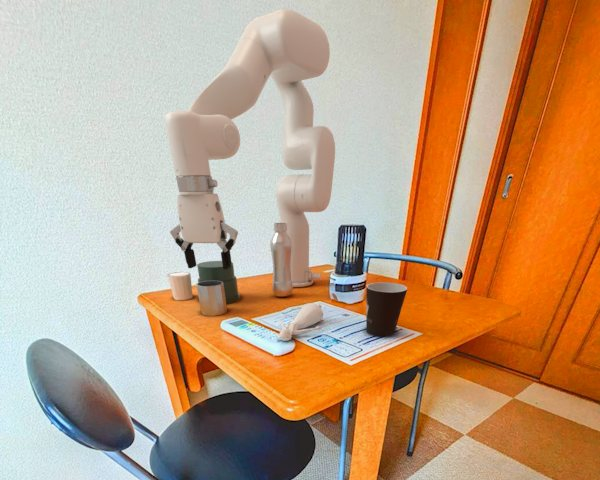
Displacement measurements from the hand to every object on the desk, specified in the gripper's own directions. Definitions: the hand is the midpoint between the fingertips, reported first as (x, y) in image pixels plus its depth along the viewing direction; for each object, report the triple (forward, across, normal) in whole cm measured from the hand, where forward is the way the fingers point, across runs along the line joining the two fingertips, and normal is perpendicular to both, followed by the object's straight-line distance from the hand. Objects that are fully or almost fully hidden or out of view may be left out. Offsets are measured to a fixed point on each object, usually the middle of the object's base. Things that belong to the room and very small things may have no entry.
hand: (209, 267), depth 79 cm
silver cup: (+11, 0, +1) cm, 11 cm away
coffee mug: (+12, -45, +5) cm, 46 cm away
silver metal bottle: (+12, -14, -18) cm, 26 cm away
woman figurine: (+11, -26, +9) cm, 29 cm away
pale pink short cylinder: (+12, +16, -10) cm, 22 cm away
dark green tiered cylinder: (+11, +4, -11) cm, 16 cm away
